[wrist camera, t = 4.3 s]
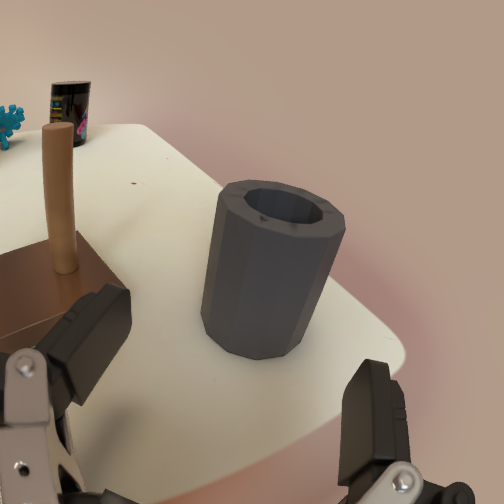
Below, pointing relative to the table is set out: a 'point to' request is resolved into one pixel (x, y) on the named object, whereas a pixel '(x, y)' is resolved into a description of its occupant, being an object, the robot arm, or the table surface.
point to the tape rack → (49, 256)
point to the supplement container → (71, 106)
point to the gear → (9, 123)
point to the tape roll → (267, 266)
